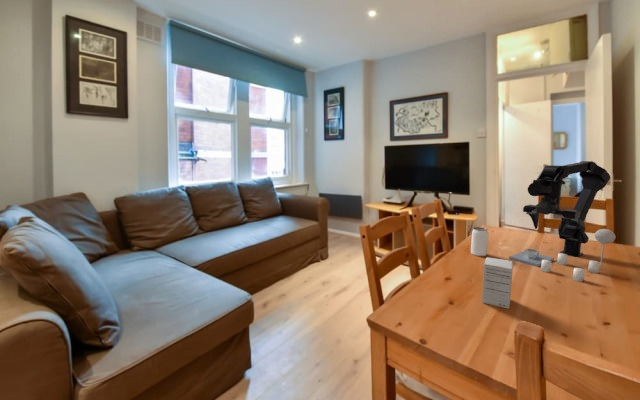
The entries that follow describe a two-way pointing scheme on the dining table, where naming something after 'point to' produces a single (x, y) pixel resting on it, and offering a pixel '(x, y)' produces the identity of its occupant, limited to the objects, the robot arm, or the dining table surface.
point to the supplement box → (497, 282)
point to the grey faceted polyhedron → (531, 253)
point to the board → (534, 262)
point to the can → (479, 241)
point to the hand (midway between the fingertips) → (548, 230)
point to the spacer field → (578, 272)
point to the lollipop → (604, 238)
